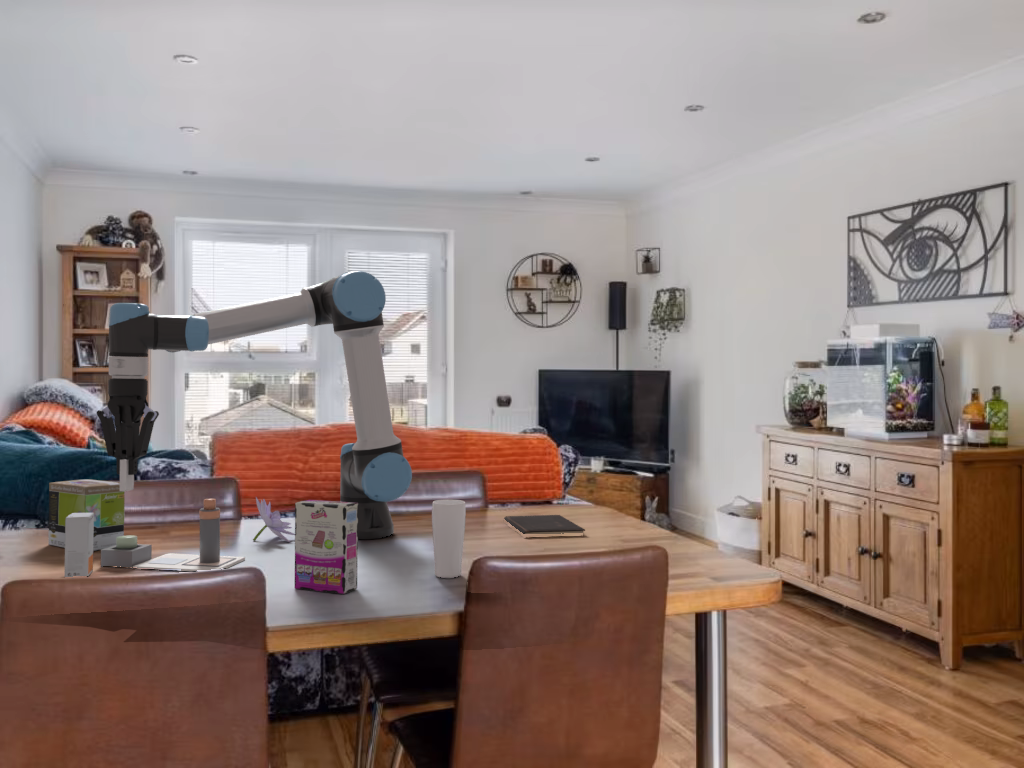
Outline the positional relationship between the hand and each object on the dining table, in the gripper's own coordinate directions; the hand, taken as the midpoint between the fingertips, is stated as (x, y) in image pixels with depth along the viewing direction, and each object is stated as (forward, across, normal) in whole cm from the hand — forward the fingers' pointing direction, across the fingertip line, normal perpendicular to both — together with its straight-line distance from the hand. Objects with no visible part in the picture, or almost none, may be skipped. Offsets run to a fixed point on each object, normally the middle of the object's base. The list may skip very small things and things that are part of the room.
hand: (126, 490), depth 180 cm
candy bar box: (+16, +48, -11) cm, 52 cm away
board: (+15, +13, +3) cm, 20 cm away
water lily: (+16, +19, +31) cm, 40 cm away
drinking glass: (+15, +68, +4) cm, 70 cm away
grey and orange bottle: (+15, +17, +3) cm, 23 cm away
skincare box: (+16, -3, -11) cm, 19 cm away
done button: (+12, 0, 0) cm, 12 cm away
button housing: (+15, 0, 0) cm, 15 cm away
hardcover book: (+16, +80, +61) cm, 102 cm away
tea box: (+16, -20, +15) cm, 30 cm away
